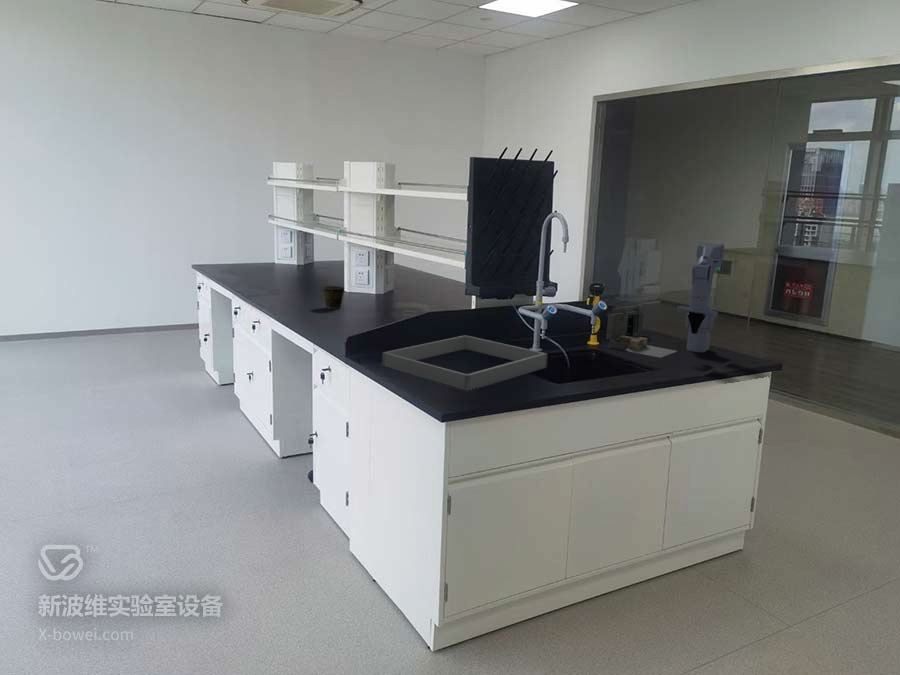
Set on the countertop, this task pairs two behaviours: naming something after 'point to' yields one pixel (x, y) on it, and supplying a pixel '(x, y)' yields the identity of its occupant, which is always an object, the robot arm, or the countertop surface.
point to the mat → (652, 351)
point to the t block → (634, 342)
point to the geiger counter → (625, 322)
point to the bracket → (618, 344)
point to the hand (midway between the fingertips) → (694, 333)
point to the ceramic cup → (333, 296)
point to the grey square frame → (407, 363)
